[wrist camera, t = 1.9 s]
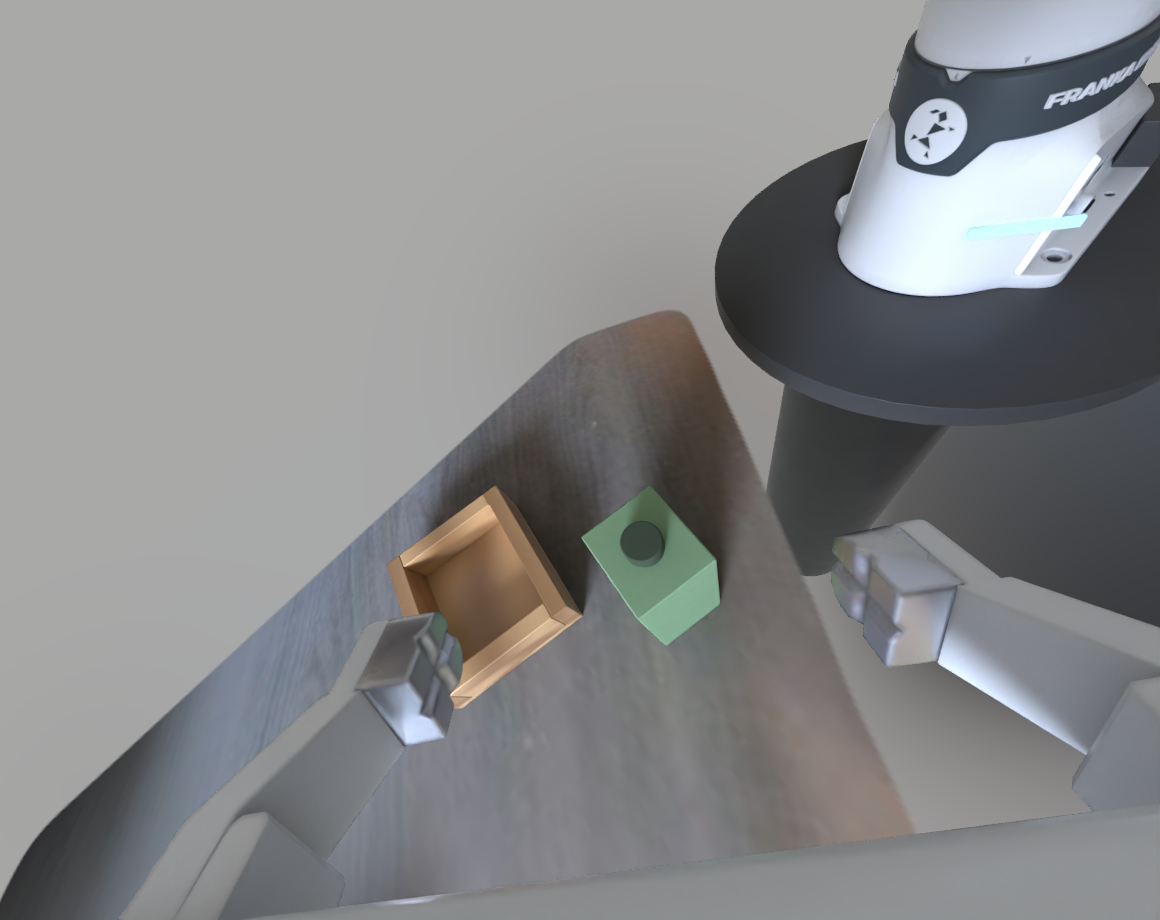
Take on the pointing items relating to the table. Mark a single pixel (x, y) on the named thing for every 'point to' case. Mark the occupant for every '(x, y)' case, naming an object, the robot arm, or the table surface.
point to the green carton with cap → (656, 565)
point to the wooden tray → (485, 589)
